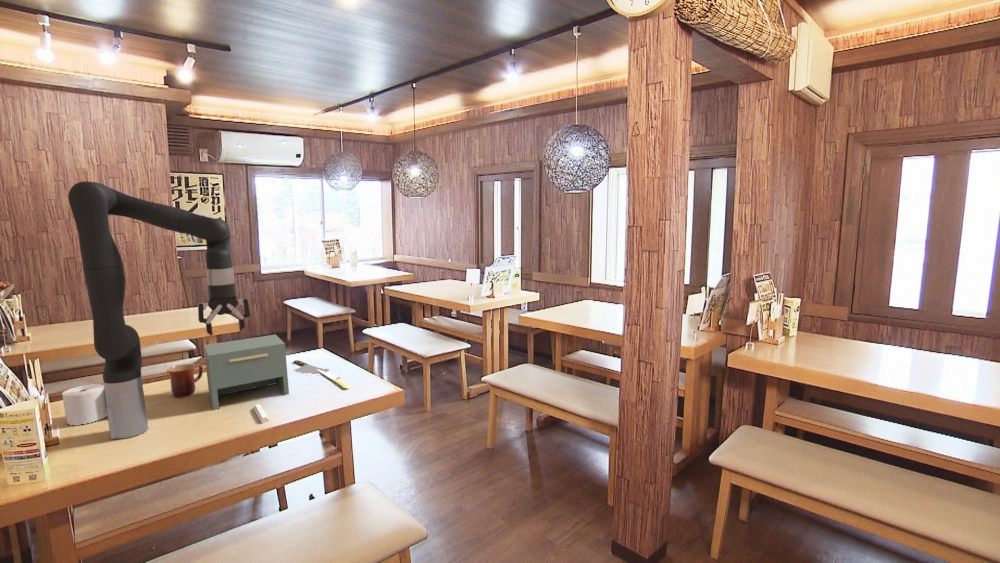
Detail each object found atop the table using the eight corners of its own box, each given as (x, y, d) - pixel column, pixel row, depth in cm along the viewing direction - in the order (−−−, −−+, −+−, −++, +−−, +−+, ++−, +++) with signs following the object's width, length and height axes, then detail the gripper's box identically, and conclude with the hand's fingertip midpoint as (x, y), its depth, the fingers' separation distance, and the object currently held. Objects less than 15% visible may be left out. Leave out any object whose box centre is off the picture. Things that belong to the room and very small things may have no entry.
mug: (179, 400, 181) (176, 372, 179) (164, 396, 185) (161, 369, 183) (211, 389, 191) (208, 363, 190) (196, 386, 195) (193, 360, 194)
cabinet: (214, 410, 172) (208, 355, 169) (209, 395, 185) (203, 345, 182) (289, 394, 185) (285, 343, 182) (279, 381, 198) (275, 334, 195)
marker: (256, 409, 174) (266, 425, 161) (250, 407, 173) (259, 423, 160) (260, 402, 175) (270, 417, 162) (254, 400, 174) (263, 415, 161)
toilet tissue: (70, 416, 168) (65, 387, 167) (115, 409, 174) (111, 381, 173) (63, 428, 159) (58, 398, 158) (110, 420, 165) (106, 390, 164)
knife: (325, 364, 217) (313, 365, 214) (355, 385, 190) (343, 387, 187) (324, 367, 217) (313, 368, 214) (355, 388, 190) (343, 390, 188)
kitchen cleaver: (279, 365, 217) (301, 358, 225) (279, 367, 218) (301, 360, 225) (309, 377, 202) (331, 370, 209) (309, 380, 202) (331, 372, 209)
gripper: (195, 286, 153) (201, 338, 155) (248, 281, 161) (252, 331, 163) (194, 283, 159) (199, 333, 161) (244, 278, 167) (248, 327, 169)
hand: (226, 332), depth 162 cm, fingers open, 8 cm apart
